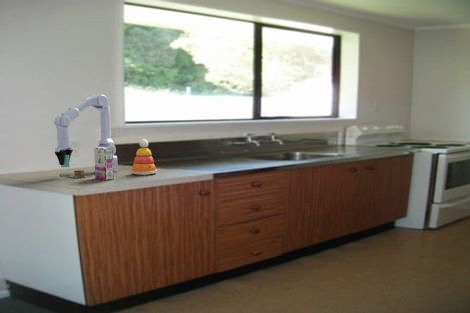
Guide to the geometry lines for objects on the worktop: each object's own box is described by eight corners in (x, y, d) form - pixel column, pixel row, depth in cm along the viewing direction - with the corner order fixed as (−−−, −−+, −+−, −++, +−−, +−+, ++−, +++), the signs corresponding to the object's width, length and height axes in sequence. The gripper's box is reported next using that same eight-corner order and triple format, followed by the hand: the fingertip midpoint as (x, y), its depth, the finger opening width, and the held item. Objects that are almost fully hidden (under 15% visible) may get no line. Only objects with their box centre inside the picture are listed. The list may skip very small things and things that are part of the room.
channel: (84, 175, 264) (83, 170, 264) (84, 177, 258) (84, 172, 258) (74, 176, 263) (74, 170, 262) (74, 178, 256) (74, 172, 256)
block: (69, 166, 260) (69, 154, 259) (69, 167, 256) (68, 155, 255) (61, 166, 258) (61, 155, 258) (61, 167, 255) (60, 156, 254)
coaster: (77, 173, 274) (77, 172, 274) (78, 175, 265) (78, 174, 265) (60, 174, 271) (60, 173, 271) (60, 176, 262) (60, 175, 262)
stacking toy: (145, 176, 259) (144, 140, 257) (125, 174, 266) (124, 139, 264) (162, 173, 272) (161, 138, 269) (142, 171, 279) (141, 137, 276)
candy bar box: (114, 179, 251) (113, 147, 249) (105, 180, 247) (104, 148, 246) (103, 177, 259) (102, 146, 257) (94, 178, 255) (93, 147, 253)
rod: (82, 177, 261) (82, 172, 261) (81, 177, 259) (81, 173, 259) (71, 177, 261) (71, 172, 260) (70, 178, 258) (70, 173, 258)
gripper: (63, 139, 248) (65, 165, 249) (76, 137, 262) (77, 162, 264) (50, 139, 249) (52, 165, 250) (64, 137, 263) (65, 162, 264)
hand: (64, 164), depth 257 cm, fingers closed on block, 5 cm apart
